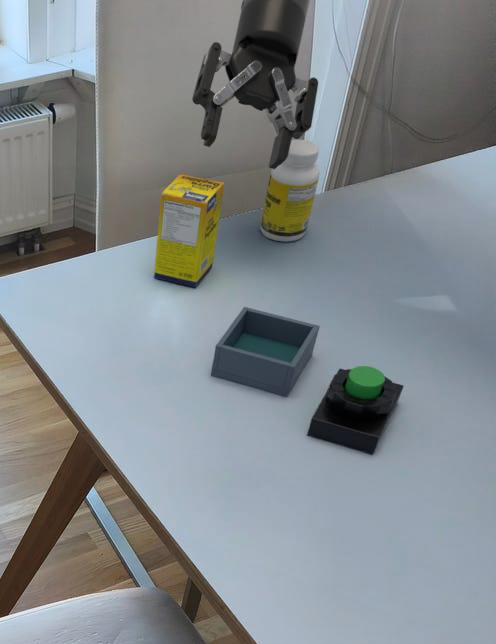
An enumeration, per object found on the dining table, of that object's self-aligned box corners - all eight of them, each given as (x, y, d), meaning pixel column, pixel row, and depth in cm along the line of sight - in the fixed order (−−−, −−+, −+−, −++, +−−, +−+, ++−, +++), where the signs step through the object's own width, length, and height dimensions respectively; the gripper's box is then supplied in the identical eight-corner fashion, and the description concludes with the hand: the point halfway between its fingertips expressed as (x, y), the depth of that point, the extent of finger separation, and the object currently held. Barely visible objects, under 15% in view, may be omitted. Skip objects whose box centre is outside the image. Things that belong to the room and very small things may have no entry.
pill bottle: (254, 222, 123) (270, 138, 114) (298, 220, 123) (317, 135, 114) (265, 244, 119) (282, 158, 110) (311, 241, 119) (331, 155, 110)
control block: (397, 402, 96) (409, 370, 93) (373, 454, 91) (384, 423, 88) (334, 384, 99) (343, 353, 96) (306, 435, 93) (315, 403, 90)
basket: (312, 355, 102) (320, 325, 99) (287, 396, 98) (294, 367, 95) (238, 335, 105) (243, 306, 102) (210, 375, 100) (215, 345, 98)
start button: (384, 385, 92) (389, 371, 91) (374, 404, 90) (379, 390, 89) (350, 376, 94) (354, 362, 92) (340, 394, 92) (344, 380, 90)
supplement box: (212, 267, 115) (226, 181, 107) (195, 289, 112) (207, 202, 104) (170, 257, 117) (180, 172, 109) (152, 278, 114) (161, 192, 105)
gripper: (231, -27, 98) (199, 120, 98) (344, 16, 100) (312, 158, 101) (204, 15, 105) (175, 151, 106) (310, 54, 108) (281, 186, 109)
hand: (242, 154), depth 103 cm, fingers open, 8 cm apart
